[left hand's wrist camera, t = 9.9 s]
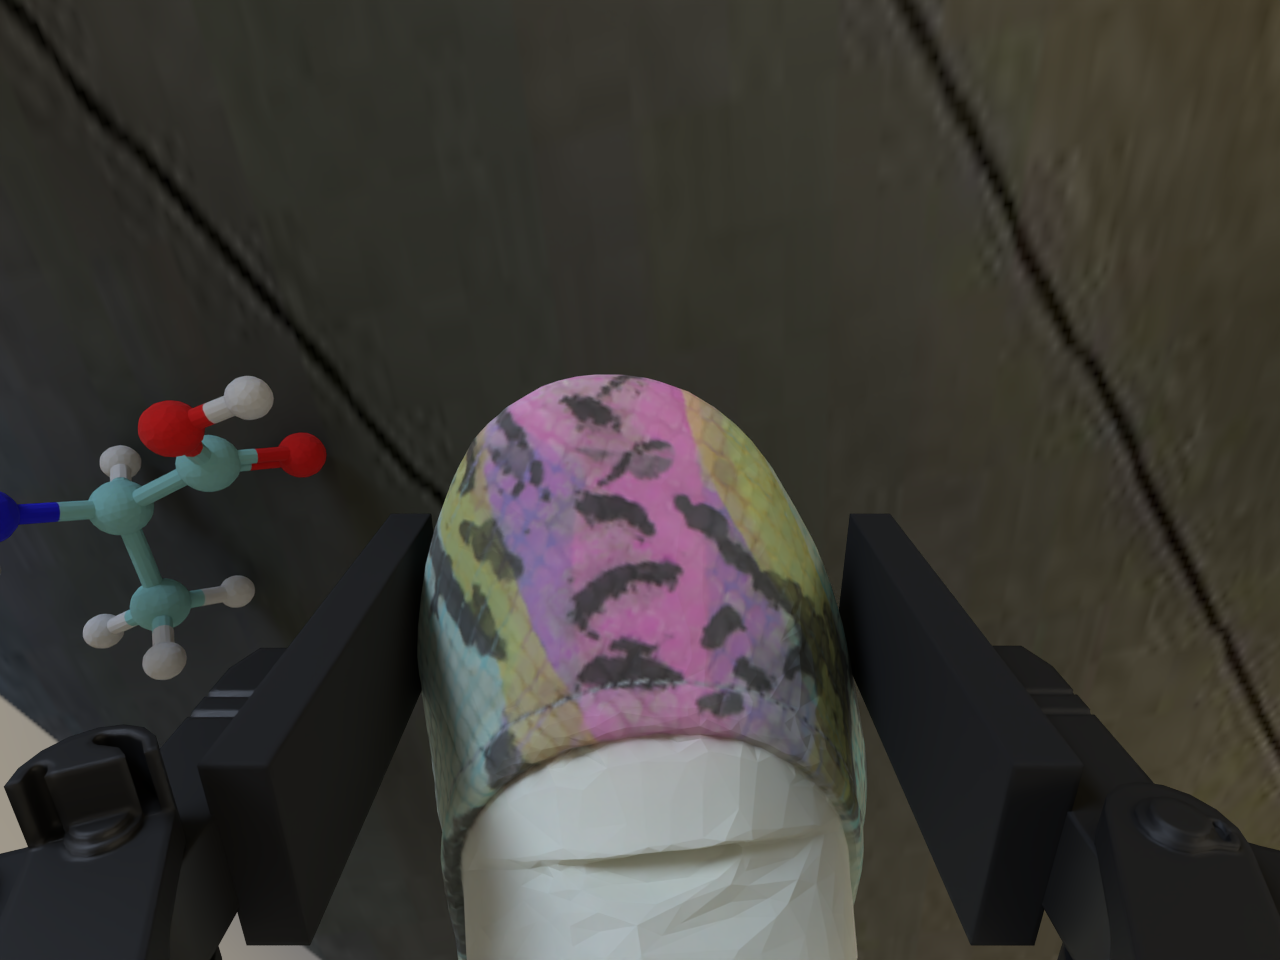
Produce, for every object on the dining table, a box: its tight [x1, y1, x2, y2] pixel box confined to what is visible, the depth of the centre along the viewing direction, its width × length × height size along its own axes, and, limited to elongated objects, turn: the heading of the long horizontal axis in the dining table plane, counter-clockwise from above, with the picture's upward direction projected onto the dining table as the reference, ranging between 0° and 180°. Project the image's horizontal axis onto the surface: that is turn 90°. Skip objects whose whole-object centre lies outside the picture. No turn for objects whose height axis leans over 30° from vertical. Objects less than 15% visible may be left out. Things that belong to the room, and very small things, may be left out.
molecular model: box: [0, 376, 326, 680], centre depth 24 cm, size 12×10×10 cm
